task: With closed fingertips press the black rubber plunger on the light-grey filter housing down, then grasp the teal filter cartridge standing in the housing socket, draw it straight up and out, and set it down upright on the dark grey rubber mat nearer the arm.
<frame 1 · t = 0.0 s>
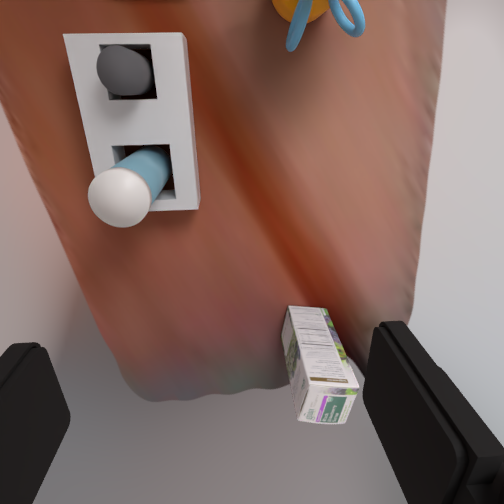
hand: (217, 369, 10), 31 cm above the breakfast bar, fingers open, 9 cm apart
housing: (147, 127, 36), on the breakfast bar
cartridge: (152, 165, 37), resting in housing
plunger: (128, 72, 30), point 4 cm above the breakfast bar, slide at 0.0 cm
syrup box: (301, 321, 49), on the breakfast bar
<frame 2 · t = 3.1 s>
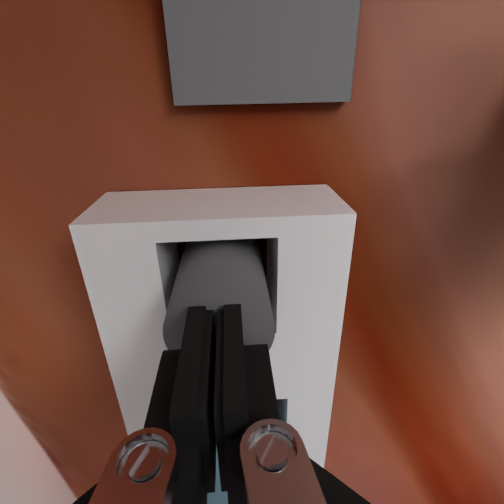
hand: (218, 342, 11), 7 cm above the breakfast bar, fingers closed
housing: (227, 327, 19), on the breakfast bar
cartridge: (230, 379, 20), resting in housing
plunger: (221, 288, 13), point 4 cm above the breakfast bar, slide at -0.5 cm, touching gripper
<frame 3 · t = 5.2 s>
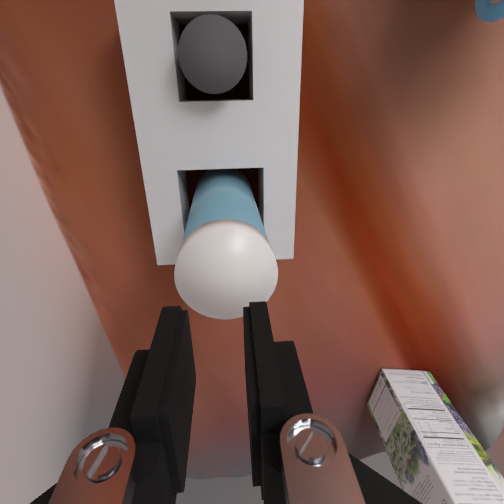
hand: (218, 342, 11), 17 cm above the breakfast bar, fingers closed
housing: (220, 141, 25), on the breakfast bar
cartridge: (223, 193, 26), resting in housing
plunger: (214, 59, 20), point 3 cm above the breakfast bar, slide at -1.4 cm
syrup box: (394, 385, 38), on the breakfast bar
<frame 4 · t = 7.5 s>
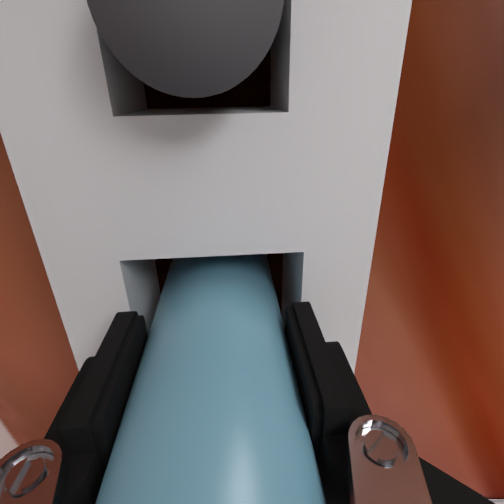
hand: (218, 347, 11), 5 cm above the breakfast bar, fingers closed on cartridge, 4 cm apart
housing: (214, 184, 13), on the breakfast bar
cartridge: (220, 272, 15), resting in housing, touching gripper
plunger: (197, 17, 8), point 3 cm above the breakfast bar, slide at -1.4 cm
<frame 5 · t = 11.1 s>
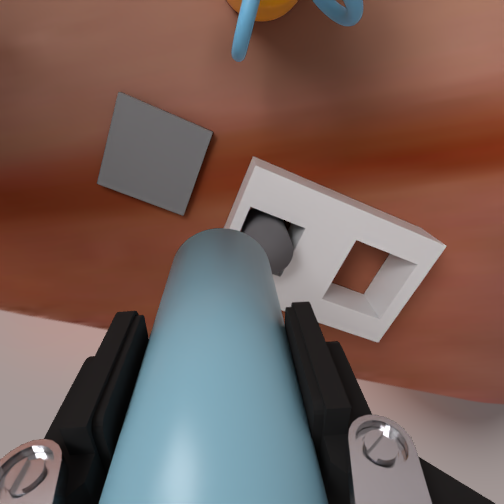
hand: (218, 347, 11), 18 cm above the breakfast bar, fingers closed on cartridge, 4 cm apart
housing: (314, 245, 30), on the breakfast bar
cartridge: (221, 273, 15), point 14 cm above the breakfast bar, touching gripper
plunger: (265, 238, 26), point 3 cm above the breakfast bar, slide at -1.4 cm
mat: (155, 157, 26), on the breakfast bar
when the fingers open (7 cm above the breakfast bar, at t = 14.3 s): cartridge drops 1 cm, resting on mat.
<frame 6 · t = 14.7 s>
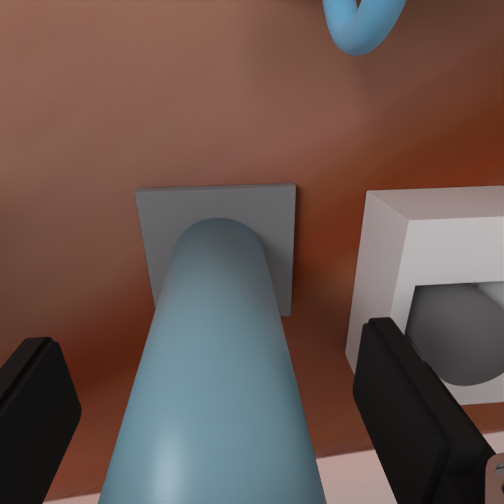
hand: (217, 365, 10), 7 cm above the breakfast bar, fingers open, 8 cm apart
housing: (497, 274, 18), on the breakfast bar
cartridge: (219, 260, 16), point 1 cm above the breakfast bar, touching mat
plunger: (439, 311, 15), point 3 cm above the breakfast bar, slide at -1.4 cm
mat: (221, 255, 17), on the breakfast bar
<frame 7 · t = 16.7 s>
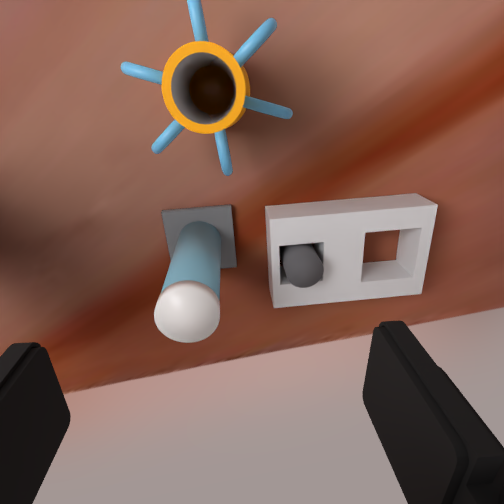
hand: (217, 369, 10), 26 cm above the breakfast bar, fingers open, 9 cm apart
cylinder: (214, 91, 30), on the breakfast bar
housing: (338, 243, 37), on the breakfast bar
cartridge: (200, 240, 35), point 1 cm above the breakfast bar, touching mat
plunger: (299, 258, 34), point 3 cm above the breakfast bar, slide at -1.4 cm
mat: (201, 238, 36), on the breakfast bar
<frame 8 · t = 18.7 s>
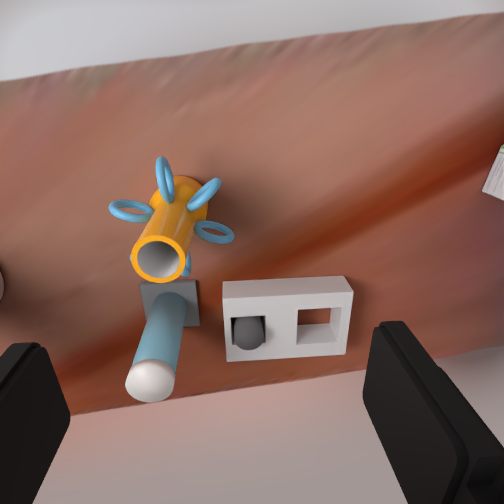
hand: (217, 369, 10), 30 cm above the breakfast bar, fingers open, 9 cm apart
cylinder: (182, 200, 39), on the breakfast bar
housing: (282, 309, 46), on the breakfast bar
cartridge: (170, 306, 44), point 1 cm above the breakfast bar, touching mat
plunger: (247, 325, 43), point 3 cm above the breakfast bar, slide at -1.4 cm
mat: (171, 303, 44), on the breakfast bar
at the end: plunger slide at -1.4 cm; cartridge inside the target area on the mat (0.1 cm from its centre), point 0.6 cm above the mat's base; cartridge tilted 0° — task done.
